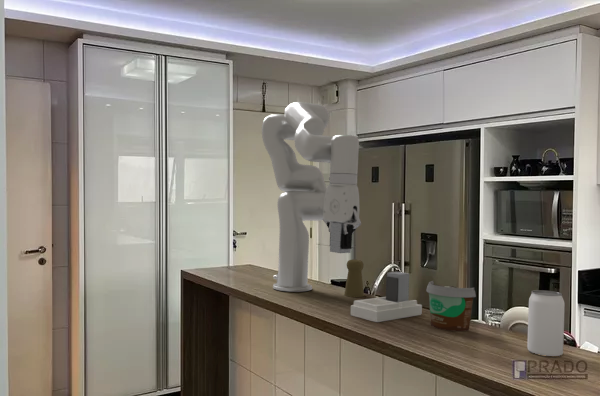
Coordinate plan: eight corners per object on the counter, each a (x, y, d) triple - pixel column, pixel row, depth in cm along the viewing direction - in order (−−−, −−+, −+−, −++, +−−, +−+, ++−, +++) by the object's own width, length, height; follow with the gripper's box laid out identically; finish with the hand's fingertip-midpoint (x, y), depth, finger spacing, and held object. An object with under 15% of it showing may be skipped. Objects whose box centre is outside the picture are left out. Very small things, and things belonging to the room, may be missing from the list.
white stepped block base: (350, 315, 134) (351, 273, 135) (395, 308, 145) (396, 270, 145) (376, 322, 127) (378, 278, 128) (421, 314, 138) (423, 274, 138)
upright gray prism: (329, 251, 145) (331, 222, 145) (341, 250, 148) (343, 222, 148) (339, 253, 142) (341, 223, 142) (351, 252, 145) (353, 223, 145)
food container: (414, 324, 127) (415, 282, 127) (430, 321, 131) (431, 280, 131) (459, 335, 118) (460, 290, 118) (474, 331, 122) (476, 287, 122)
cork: (363, 297, 160) (364, 261, 160) (343, 296, 161) (344, 260, 161) (364, 294, 166) (365, 259, 166) (345, 293, 167) (346, 258, 167)
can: (567, 353, 106) (569, 293, 106) (557, 359, 101) (559, 296, 101) (533, 346, 110) (535, 288, 110) (522, 352, 105) (524, 292, 105)
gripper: (313, 179, 149) (310, 244, 149) (355, 180, 136) (351, 252, 136) (332, 180, 153) (330, 244, 154) (375, 181, 140) (372, 250, 141)
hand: (340, 247), depth 145 cm, fingers closed on upright gray prism, 4 cm apart
